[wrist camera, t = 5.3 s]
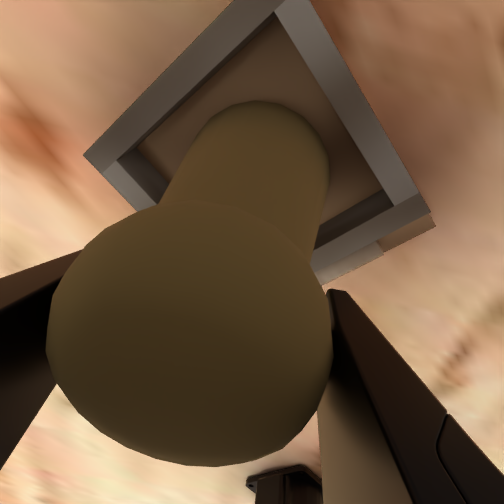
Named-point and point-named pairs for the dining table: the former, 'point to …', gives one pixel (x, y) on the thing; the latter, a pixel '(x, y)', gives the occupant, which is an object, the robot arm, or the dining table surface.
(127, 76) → the dining table surface
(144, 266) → the olive tall rounded piece
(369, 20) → the dining table surface
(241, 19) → the frame
